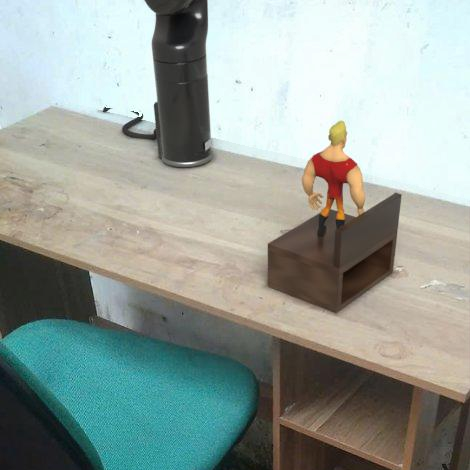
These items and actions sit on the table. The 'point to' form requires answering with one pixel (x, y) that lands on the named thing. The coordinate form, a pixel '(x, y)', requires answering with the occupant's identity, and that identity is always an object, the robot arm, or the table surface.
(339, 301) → the shelf
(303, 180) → the action figure
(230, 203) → the table surface
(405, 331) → the table surface
